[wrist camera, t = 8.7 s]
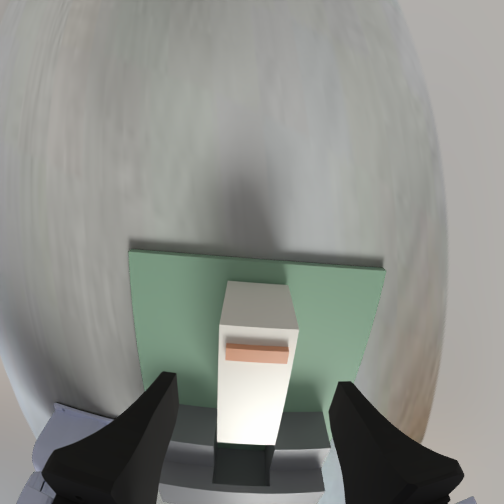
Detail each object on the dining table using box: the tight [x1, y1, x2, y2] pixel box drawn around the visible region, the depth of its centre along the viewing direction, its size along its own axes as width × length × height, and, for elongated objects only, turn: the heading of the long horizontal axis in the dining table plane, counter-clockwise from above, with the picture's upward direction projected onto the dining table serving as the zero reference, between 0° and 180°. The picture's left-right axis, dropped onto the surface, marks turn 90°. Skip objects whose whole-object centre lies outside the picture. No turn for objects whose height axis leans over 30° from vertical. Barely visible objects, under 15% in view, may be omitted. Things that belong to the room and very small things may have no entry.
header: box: [158, 404, 331, 504], centre depth 23 cm, size 14×8×8 cm, turn 85°
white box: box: [217, 281, 299, 445], centre depth 19 cm, size 4×10×6 cm, turn 176°
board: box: [128, 249, 386, 450], centre depth 24 cm, size 18×22×1 cm
